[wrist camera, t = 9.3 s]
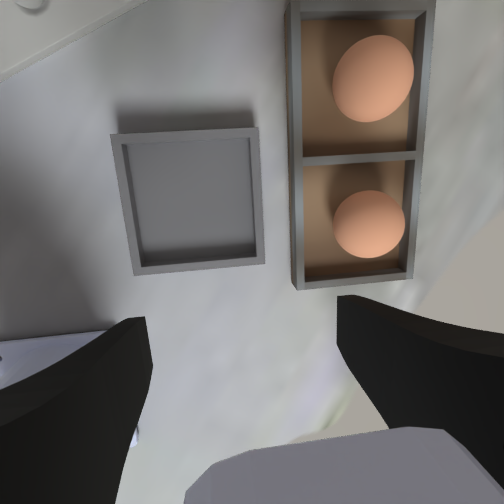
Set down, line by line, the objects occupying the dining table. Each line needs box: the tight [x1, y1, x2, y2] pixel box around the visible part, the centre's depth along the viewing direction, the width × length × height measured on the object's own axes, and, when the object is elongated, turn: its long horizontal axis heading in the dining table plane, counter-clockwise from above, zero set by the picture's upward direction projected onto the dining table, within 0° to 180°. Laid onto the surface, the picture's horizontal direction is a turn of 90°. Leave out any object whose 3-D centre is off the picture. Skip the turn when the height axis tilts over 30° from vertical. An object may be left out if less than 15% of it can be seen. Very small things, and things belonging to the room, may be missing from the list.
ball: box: [332, 35, 414, 122], centre depth 16 cm, size 4×4×4 cm
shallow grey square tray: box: [110, 127, 265, 276], centre depth 18 cm, size 8×8×2 cm
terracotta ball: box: [333, 190, 405, 258], centre depth 18 cm, size 4×4×4 cm
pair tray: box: [284, 0, 436, 290], centre depth 19 cm, size 16×8×2 cm, turn 3°
